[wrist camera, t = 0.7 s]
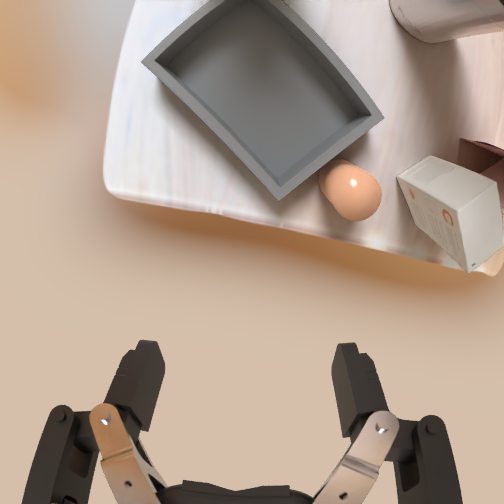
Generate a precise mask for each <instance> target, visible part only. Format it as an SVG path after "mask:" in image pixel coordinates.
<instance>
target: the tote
mask: <svg viewBox="0 0 504 504" xmlns="http://www.w3.org/2000/svg"><path fill="white" fill-rule="evenodd" d="M141 63H142V64H143V65H144V66H146V67H147V68H148V69H149V70H150V71H151V72H152V73H153V74H154V75H155V76H157V77H158V78H159V79H160V80H161V81H162V82H163V83H164V84H165V85H166V86H167V87H168V88H169V89H170V90H171V91H173V92H174V93H175V94H176V95H177V96H178V97H179V98H180V99H181V100H182V101H183V102H184V103H185V104H186V105H187V106H188V107H189V108H190V109H191V110H192V111H193V112H194V113H195V114H196V115H197V116H198V117H199V118H200V119H201V120H202V121H203V122H204V123H205V124H206V125H207V126H208V127H209V128H210V129H211V130H212V131H213V132H214V133H215V134H216V135H217V136H218V137H219V138H220V139H221V140H222V141H223V142H224V143H225V144H226V145H227V146H228V147H229V148H230V149H231V150H232V151H233V152H234V153H235V155H236V156H237V157H238V158H239V159H240V160H241V161H242V162H243V163H244V164H245V165H246V166H247V167H248V168H249V169H250V170H251V172H252V173H253V174H254V175H255V176H256V177H257V178H258V179H259V180H260V181H261V182H262V183H263V185H264V186H265V187H266V188H267V189H268V190H269V191H270V192H271V193H272V195H273V196H274V197H275V198H276V199H277V200H278V201H280V200H281V199H282V198H283V197H285V196H286V195H287V194H288V193H290V192H291V191H292V190H293V189H295V188H296V187H297V186H298V185H300V184H301V183H302V182H303V181H305V180H306V179H307V178H308V177H310V176H311V175H312V174H313V173H315V172H316V171H317V170H318V169H320V168H321V167H322V166H323V165H325V164H326V163H327V162H329V161H330V160H331V159H332V158H334V157H335V156H336V155H337V154H339V153H340V152H341V151H343V150H344V149H345V148H346V147H348V146H349V145H350V144H352V143H353V142H354V141H355V140H357V139H358V138H359V137H361V136H362V135H363V134H365V133H366V132H367V131H368V130H370V129H371V128H372V127H374V126H375V125H376V124H378V123H379V122H380V121H382V120H383V119H384V116H383V115H382V113H381V112H380V110H379V109H378V108H377V106H376V105H375V103H374V102H373V100H372V99H371V98H370V96H369V95H368V94H367V92H366V91H365V90H364V88H363V87H362V86H361V84H360V83H359V82H358V80H357V79H356V78H355V77H354V75H353V74H352V73H351V72H350V70H349V69H348V68H347V67H346V66H345V64H344V63H343V62H342V61H341V60H340V59H339V57H338V56H337V55H336V54H335V53H334V52H333V51H332V49H331V48H330V47H329V46H328V45H327V44H326V43H325V42H324V41H323V40H322V39H321V38H320V37H319V35H318V34H317V33H316V32H315V31H314V30H313V29H312V28H311V27H310V26H309V25H308V24H307V23H306V22H305V21H304V20H303V19H301V18H300V17H299V16H298V15H297V14H296V13H295V12H294V11H293V10H292V9H291V8H290V7H289V6H287V5H286V4H285V3H284V2H283V1H282V0H211V1H209V2H208V3H207V4H205V5H204V6H203V7H201V8H200V9H199V10H197V11H196V12H195V13H194V14H192V15H191V16H190V17H189V18H188V19H186V20H185V21H184V22H183V23H182V24H180V25H179V26H178V27H177V28H176V29H175V30H174V31H172V32H171V33H170V34H169V35H168V36H167V37H166V38H165V39H164V40H163V41H161V42H160V43H159V44H158V45H157V46H156V47H155V48H154V49H153V50H152V51H151V52H150V53H149V54H148V55H147V56H146V57H145V58H144V59H143V60H142V61H141Z"/></svg>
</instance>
